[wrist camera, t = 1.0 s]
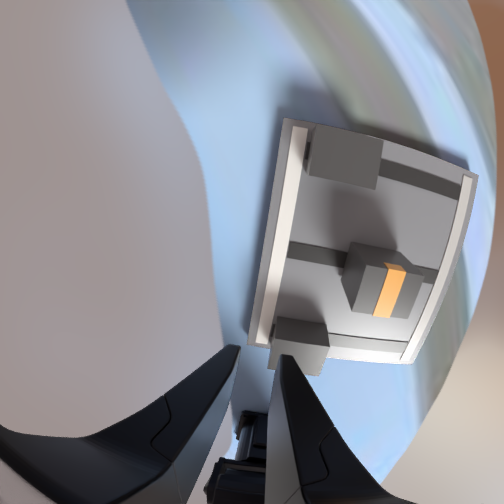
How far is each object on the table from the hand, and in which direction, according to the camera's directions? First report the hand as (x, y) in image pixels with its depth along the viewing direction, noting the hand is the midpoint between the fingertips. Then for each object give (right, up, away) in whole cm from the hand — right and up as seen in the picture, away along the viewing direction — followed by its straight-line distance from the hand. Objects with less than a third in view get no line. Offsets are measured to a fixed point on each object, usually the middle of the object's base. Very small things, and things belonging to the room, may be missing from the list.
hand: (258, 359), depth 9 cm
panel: (+9, +3, +12) cm, 15 cm away
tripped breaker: (+8, +3, +11) cm, 14 cm away
